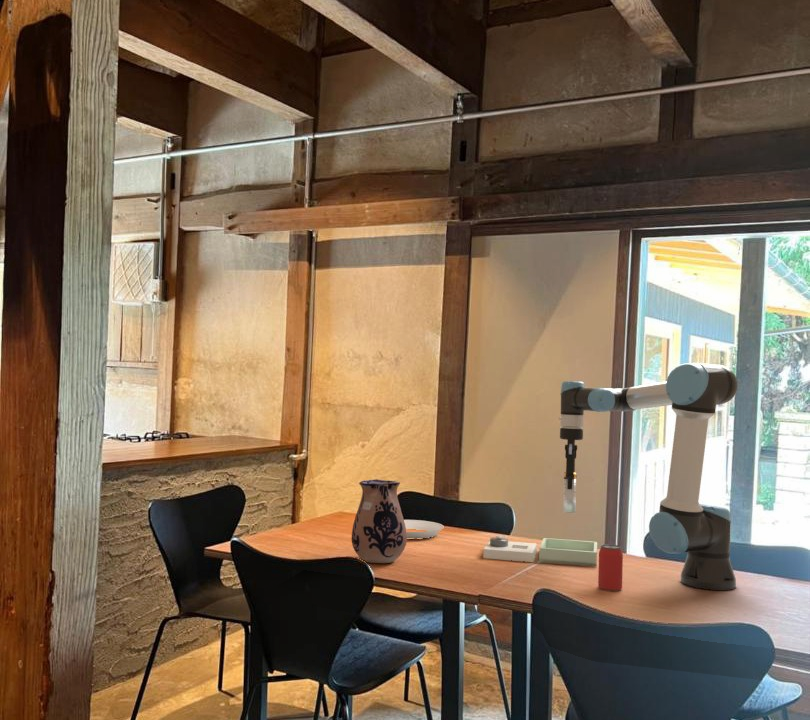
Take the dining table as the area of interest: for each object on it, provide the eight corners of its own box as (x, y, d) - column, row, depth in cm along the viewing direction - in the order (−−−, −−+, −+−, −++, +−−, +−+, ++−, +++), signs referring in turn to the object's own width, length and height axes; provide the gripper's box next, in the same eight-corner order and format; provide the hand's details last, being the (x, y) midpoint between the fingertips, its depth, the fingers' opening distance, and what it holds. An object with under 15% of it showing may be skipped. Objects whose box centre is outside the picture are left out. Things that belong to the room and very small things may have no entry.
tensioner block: (532, 562, 255) (533, 544, 255) (483, 558, 259) (483, 540, 259) (536, 552, 271) (537, 535, 271) (490, 548, 275) (490, 531, 275)
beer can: (605, 592, 220) (606, 549, 220) (593, 586, 226) (594, 544, 227) (626, 591, 222) (627, 548, 222) (614, 585, 228) (614, 543, 228)
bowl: (410, 526, 314) (410, 517, 314) (457, 536, 296) (457, 527, 296) (363, 533, 296) (363, 524, 296) (410, 544, 278) (410, 534, 278)
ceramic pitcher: (361, 569, 239) (363, 486, 240) (340, 554, 259) (342, 477, 260) (414, 565, 246) (417, 484, 247) (390, 551, 265) (392, 476, 266)
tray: (596, 566, 251) (596, 552, 251) (539, 562, 256) (539, 548, 256) (596, 555, 269) (597, 541, 269) (543, 551, 273) (543, 537, 273)
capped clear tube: (575, 513, 260) (576, 473, 261) (563, 512, 261) (564, 472, 262) (575, 511, 264) (576, 472, 264) (563, 510, 265) (564, 471, 265)
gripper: (561, 425, 273) (559, 494, 272) (558, 428, 256) (556, 500, 255) (583, 426, 271) (582, 495, 270) (582, 429, 254) (580, 502, 254)
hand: (569, 497), depth 263 cm, fingers closed on capped clear tube, 4 cm apart
